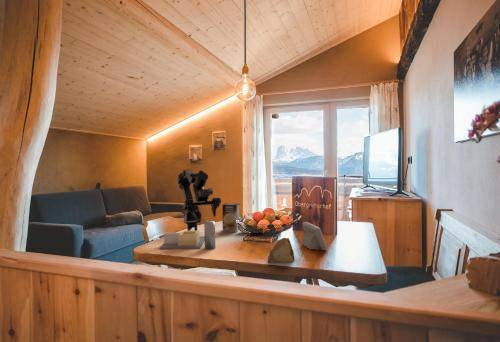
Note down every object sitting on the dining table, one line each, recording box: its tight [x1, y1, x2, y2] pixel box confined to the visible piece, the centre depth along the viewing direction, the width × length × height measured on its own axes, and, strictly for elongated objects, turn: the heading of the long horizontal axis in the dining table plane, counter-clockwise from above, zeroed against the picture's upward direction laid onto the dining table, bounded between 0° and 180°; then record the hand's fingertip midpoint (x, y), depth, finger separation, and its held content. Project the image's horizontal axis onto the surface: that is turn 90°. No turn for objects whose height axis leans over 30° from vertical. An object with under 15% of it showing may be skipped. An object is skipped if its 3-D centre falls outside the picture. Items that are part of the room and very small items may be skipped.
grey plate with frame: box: [159, 228, 205, 250], centre depth 142 cm, size 19×19×6 cm
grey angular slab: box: [301, 221, 328, 251], centre depth 133 cm, size 16×9×11 cm, turn 2°
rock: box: [267, 237, 295, 263], centre depth 114 cm, size 11×9×10 cm
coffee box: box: [222, 202, 240, 233], centre depth 168 cm, size 9×6×16 cm
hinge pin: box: [203, 220, 216, 250], centre depth 133 cm, size 5×5×12 cm
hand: (206, 217), depth 141 cm, fingers open, 9 cm apart
